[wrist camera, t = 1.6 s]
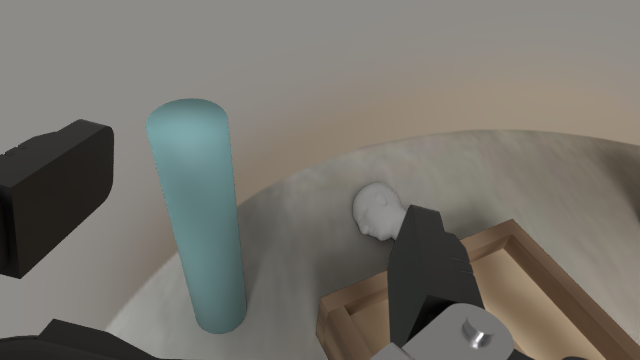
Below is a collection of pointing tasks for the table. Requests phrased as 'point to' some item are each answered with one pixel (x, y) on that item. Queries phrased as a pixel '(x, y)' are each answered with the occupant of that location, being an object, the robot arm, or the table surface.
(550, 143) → the table surface
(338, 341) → the box
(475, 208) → the table surface
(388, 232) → the pale two-lobed sculpture
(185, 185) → the peg
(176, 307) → the table surface
